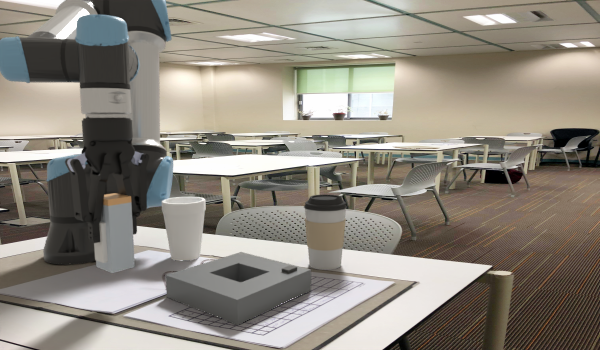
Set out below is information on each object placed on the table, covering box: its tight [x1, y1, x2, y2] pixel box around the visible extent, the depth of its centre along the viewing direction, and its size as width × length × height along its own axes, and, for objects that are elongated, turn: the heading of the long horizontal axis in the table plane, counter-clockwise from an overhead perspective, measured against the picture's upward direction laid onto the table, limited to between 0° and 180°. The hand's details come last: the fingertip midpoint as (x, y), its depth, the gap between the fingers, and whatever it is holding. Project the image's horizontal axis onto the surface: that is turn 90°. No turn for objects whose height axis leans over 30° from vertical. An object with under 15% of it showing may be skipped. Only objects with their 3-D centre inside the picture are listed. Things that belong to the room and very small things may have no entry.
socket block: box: [165, 251, 312, 326], centre depth 83 cm, size 18×18×5 cm
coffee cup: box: [303, 193, 348, 271], centre depth 99 cm, size 9×9×15 cm
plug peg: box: [95, 193, 135, 274], centre depth 78 cm, size 5×4×12 cm
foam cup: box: [161, 196, 207, 261], centre depth 105 cm, size 10×9×13 cm
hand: (114, 257), depth 78 cm, fingers closed on plug peg, 4 cm apart
